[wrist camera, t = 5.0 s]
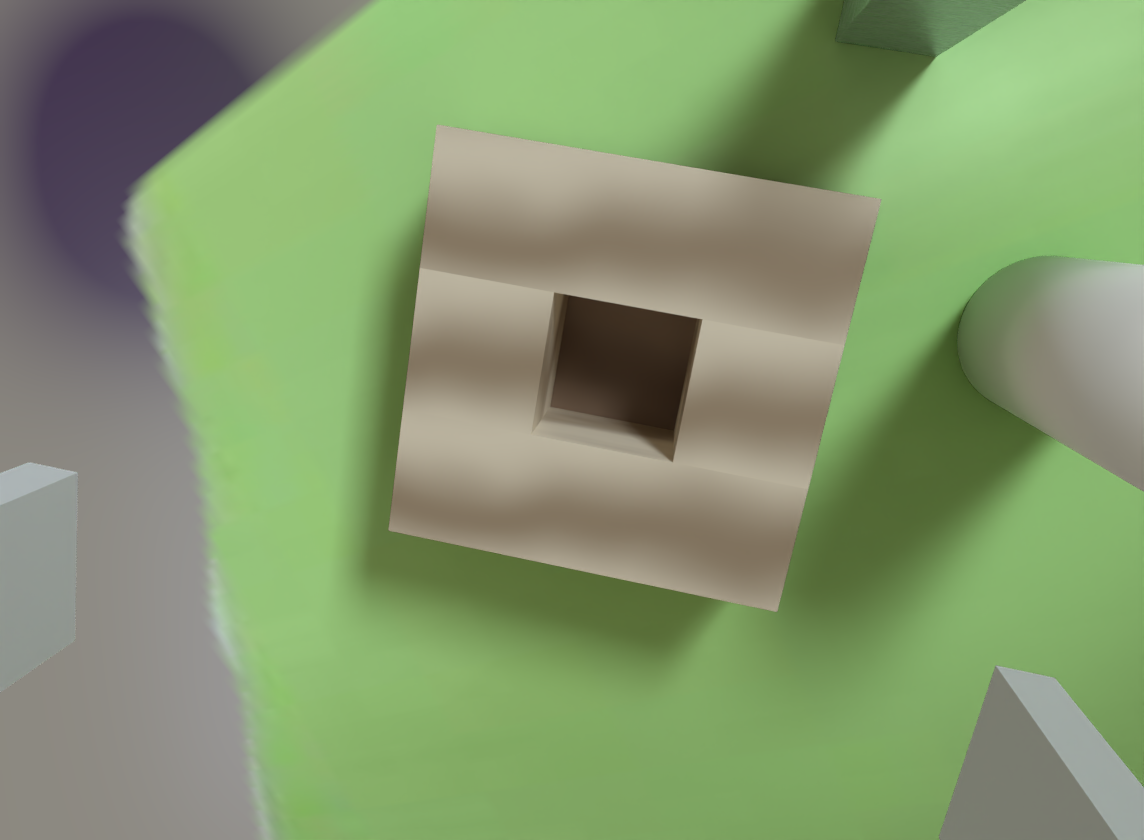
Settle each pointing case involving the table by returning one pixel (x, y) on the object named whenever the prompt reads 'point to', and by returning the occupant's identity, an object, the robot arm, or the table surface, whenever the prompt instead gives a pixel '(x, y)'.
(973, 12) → the square peg
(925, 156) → the table surface
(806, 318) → the socket block
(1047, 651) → the table surface
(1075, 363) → the round peg
